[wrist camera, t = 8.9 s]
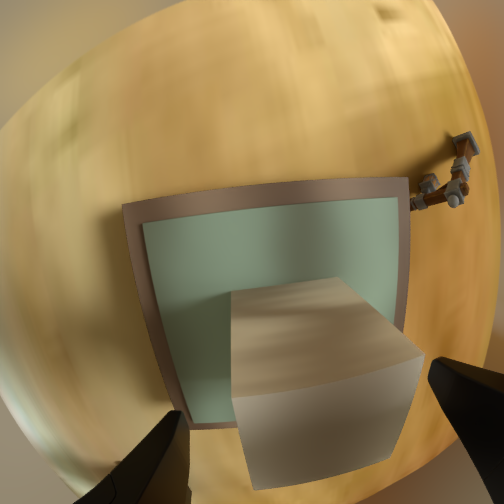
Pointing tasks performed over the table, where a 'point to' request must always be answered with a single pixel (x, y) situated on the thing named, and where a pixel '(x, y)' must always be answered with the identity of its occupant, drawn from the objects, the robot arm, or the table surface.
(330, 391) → the maple block
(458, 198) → the grey brown jointed piece
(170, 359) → the brown and green tray
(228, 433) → the table surface
